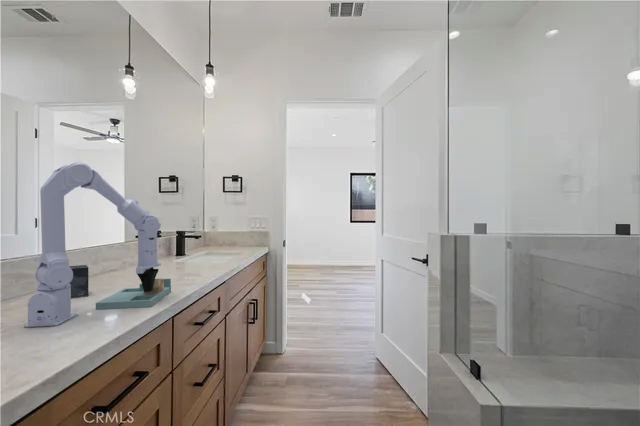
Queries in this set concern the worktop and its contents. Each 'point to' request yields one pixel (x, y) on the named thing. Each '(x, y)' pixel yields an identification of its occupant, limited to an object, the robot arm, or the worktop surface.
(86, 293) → the box
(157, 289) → the block
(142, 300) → the trap deck
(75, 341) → the worktop surface
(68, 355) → the worktop surface
